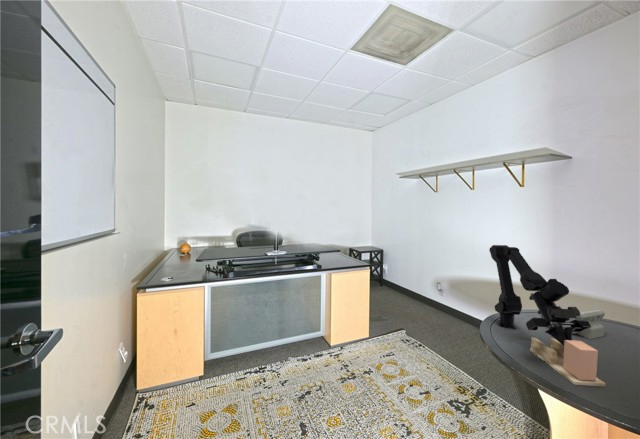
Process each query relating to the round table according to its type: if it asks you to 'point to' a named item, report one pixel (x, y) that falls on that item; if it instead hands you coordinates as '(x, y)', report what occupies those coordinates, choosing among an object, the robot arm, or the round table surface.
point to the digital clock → (592, 324)
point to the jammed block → (580, 360)
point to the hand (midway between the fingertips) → (571, 350)
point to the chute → (558, 360)
